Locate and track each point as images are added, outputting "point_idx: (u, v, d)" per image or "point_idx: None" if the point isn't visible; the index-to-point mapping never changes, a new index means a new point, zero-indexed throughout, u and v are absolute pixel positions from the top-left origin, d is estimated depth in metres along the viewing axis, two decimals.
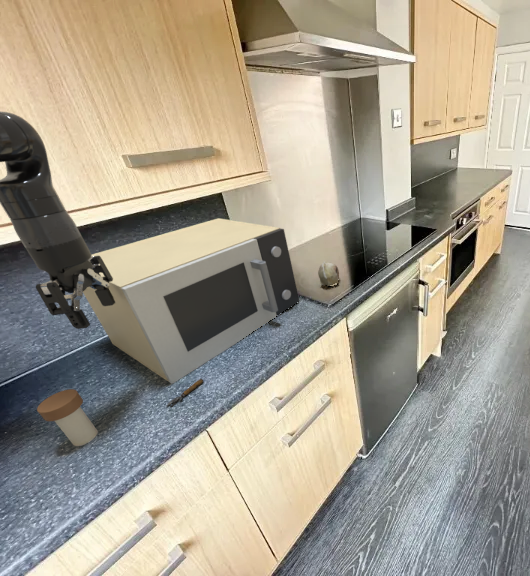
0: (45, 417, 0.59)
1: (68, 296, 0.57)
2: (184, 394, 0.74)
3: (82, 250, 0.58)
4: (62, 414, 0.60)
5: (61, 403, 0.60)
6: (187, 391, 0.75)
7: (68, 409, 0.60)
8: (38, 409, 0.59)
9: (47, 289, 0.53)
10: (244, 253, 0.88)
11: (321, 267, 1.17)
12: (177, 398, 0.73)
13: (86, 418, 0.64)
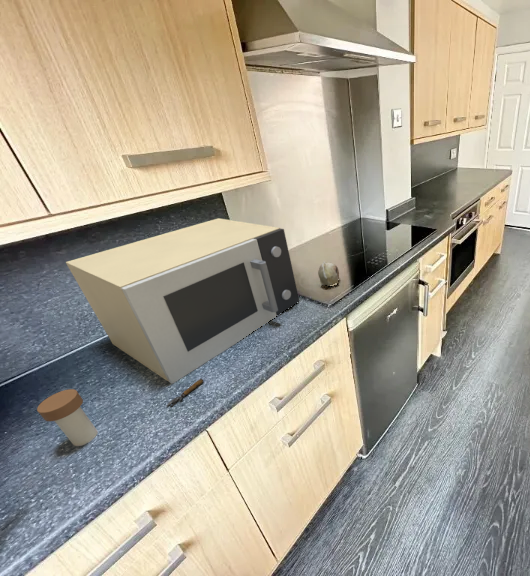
0: (45, 417, 0.59)
1: None
2: (184, 394, 0.74)
3: None
4: (62, 414, 0.60)
5: (61, 403, 0.60)
6: (187, 391, 0.75)
7: (68, 409, 0.60)
8: (38, 409, 0.59)
9: None
10: (244, 253, 0.88)
11: (321, 267, 1.17)
12: (177, 398, 0.73)
13: (86, 418, 0.64)
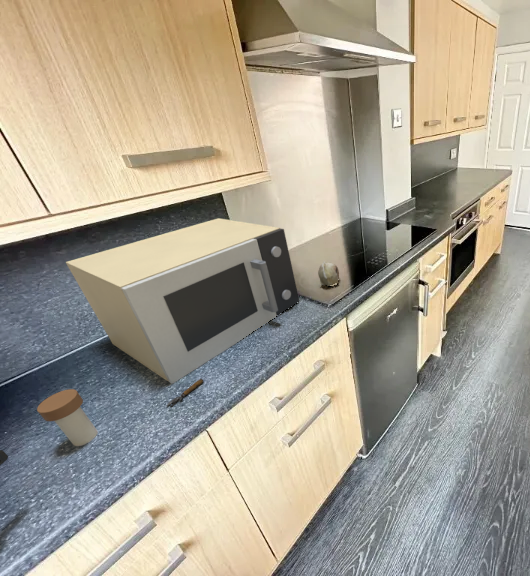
0: (45, 417, 0.59)
1: None
2: (184, 394, 0.74)
3: None
4: (62, 414, 0.60)
5: (61, 403, 0.60)
6: (187, 391, 0.75)
7: (68, 409, 0.60)
8: (38, 409, 0.59)
9: None
10: (244, 253, 0.88)
11: (321, 267, 1.17)
12: (177, 398, 0.73)
13: (86, 418, 0.64)
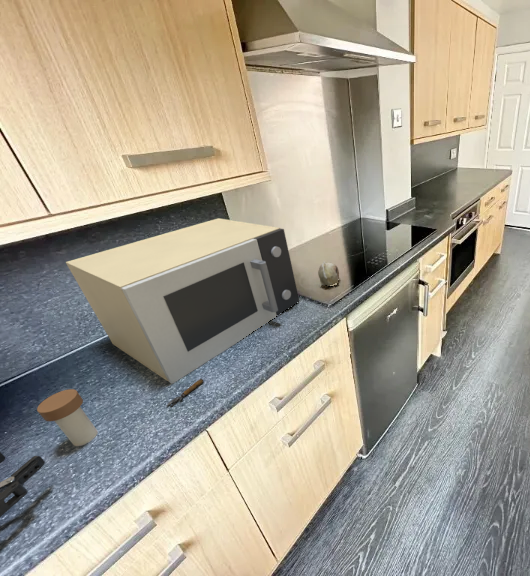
0: (45, 417, 0.59)
1: None
2: (184, 394, 0.74)
3: None
4: (62, 414, 0.60)
5: (61, 403, 0.60)
6: (187, 391, 0.75)
7: (68, 409, 0.60)
8: (38, 409, 0.59)
9: None
10: (244, 253, 0.88)
11: (321, 267, 1.17)
12: (177, 398, 0.73)
13: (86, 418, 0.64)
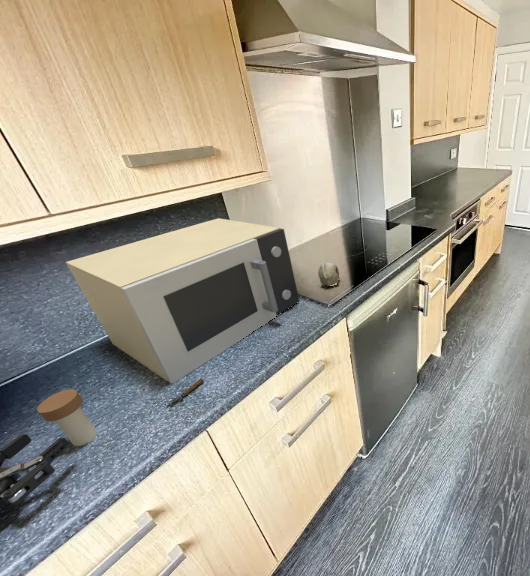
0: (45, 417, 0.59)
1: None
2: (184, 394, 0.74)
3: None
4: (62, 414, 0.60)
5: (61, 403, 0.60)
6: (187, 391, 0.75)
7: (68, 409, 0.60)
8: (38, 409, 0.59)
9: None
10: (244, 253, 0.88)
11: (321, 267, 1.17)
12: (177, 398, 0.73)
13: (86, 418, 0.64)
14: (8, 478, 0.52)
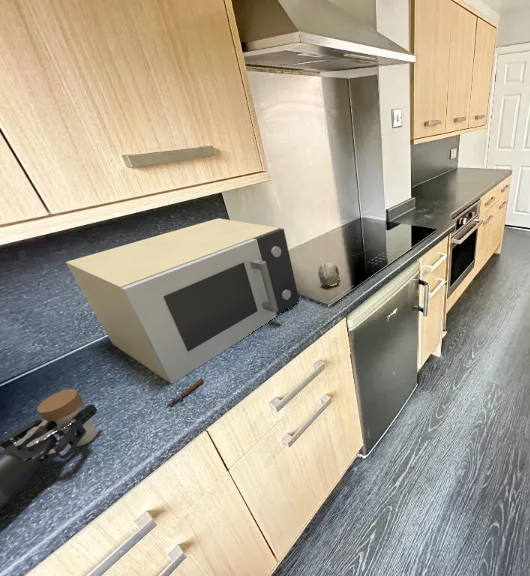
0: (45, 417, 0.59)
1: None
2: (184, 394, 0.74)
3: None
4: (62, 414, 0.60)
5: (61, 403, 0.60)
6: (187, 391, 0.75)
7: (68, 409, 0.60)
8: (38, 409, 0.59)
9: None
10: (244, 253, 0.88)
11: (321, 267, 1.17)
12: (177, 398, 0.73)
13: None
14: (50, 441, 0.57)
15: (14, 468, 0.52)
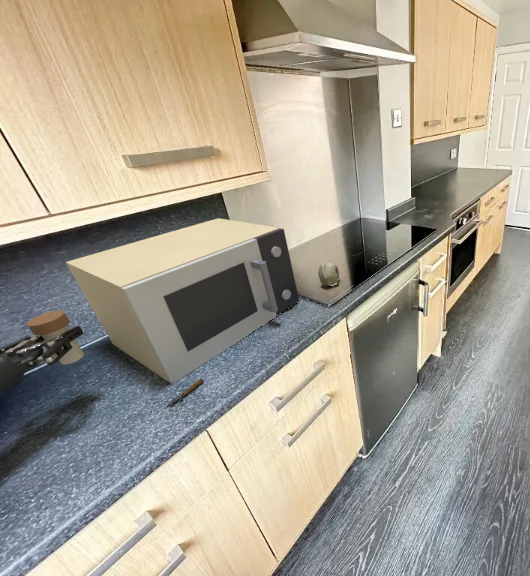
0: (34, 331, 0.64)
1: None
2: (184, 394, 0.74)
3: None
4: (50, 329, 0.65)
5: (49, 319, 0.65)
6: (187, 391, 0.75)
7: (55, 325, 0.65)
8: (27, 323, 0.64)
9: None
10: (244, 253, 0.88)
11: (321, 267, 1.17)
12: (177, 398, 0.73)
13: None
14: (38, 351, 0.62)
15: (4, 367, 0.57)
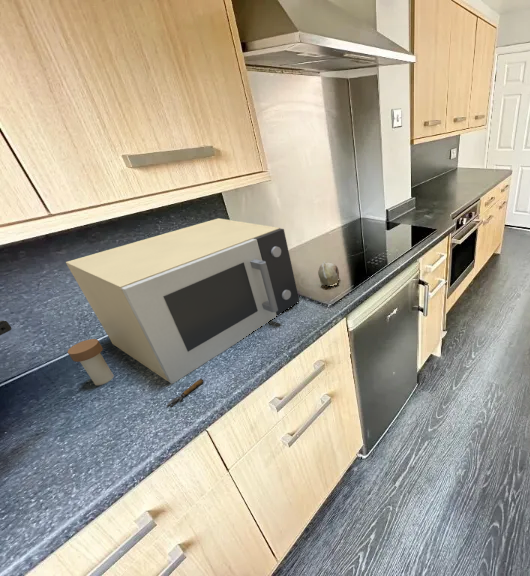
0: (74, 358, 0.75)
1: None
2: (184, 394, 0.74)
3: None
4: (87, 356, 0.75)
5: (86, 348, 0.76)
6: (187, 391, 0.75)
7: (92, 353, 0.76)
8: (68, 352, 0.75)
9: None
10: (244, 253, 0.88)
11: (321, 267, 1.17)
12: (177, 398, 0.73)
13: (105, 363, 0.80)
14: None
15: None
